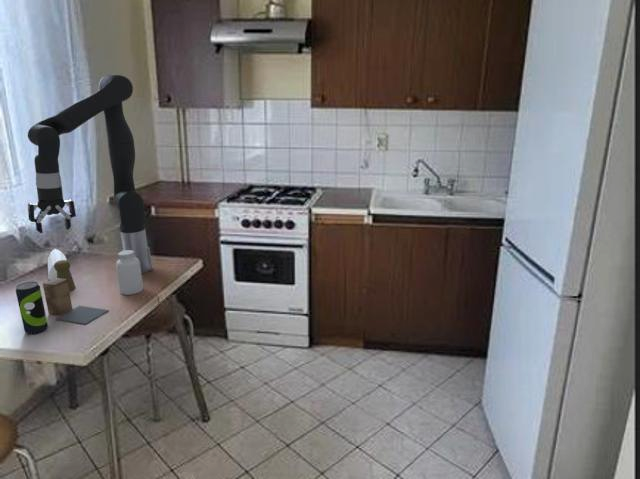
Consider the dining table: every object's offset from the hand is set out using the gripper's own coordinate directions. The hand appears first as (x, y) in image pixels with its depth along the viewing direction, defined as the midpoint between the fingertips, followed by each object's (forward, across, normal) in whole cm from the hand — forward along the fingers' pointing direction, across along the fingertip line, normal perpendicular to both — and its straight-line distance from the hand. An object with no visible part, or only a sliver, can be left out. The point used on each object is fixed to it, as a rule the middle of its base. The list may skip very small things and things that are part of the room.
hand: (54, 230), depth 166 cm
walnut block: (+23, -5, -18) cm, 30 cm away
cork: (+24, +2, +2) cm, 24 cm away
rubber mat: (+22, -1, -26) cm, 34 cm away
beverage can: (+23, -14, -27) cm, 38 cm away
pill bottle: (+22, +19, -18) cm, 34 cm away
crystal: (+25, +6, +24) cm, 35 cm away
